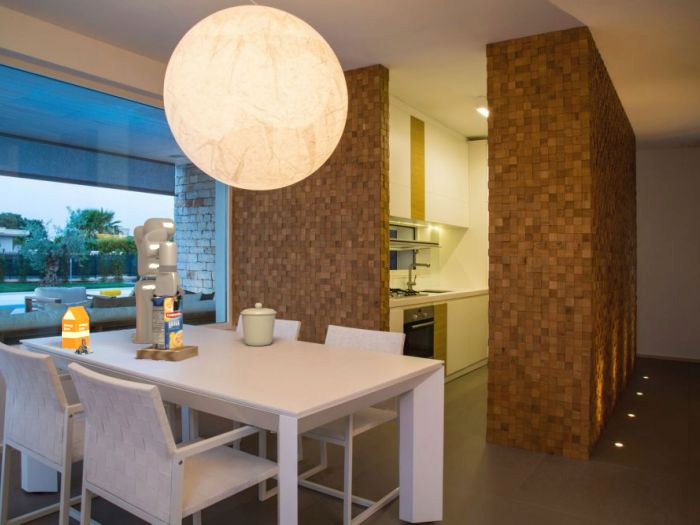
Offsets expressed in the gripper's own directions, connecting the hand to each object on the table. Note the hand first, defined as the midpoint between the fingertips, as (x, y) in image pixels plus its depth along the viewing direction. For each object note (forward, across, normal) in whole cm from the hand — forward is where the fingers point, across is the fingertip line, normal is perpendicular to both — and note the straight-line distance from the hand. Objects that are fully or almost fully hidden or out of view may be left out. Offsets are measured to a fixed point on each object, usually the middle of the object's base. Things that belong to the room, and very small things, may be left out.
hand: (167, 309), depth 238 cm
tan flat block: (+21, 0, 0) cm, 21 cm away
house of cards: (+21, -41, -7) cm, 47 cm away
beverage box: (+17, 0, 0) cm, 17 cm away
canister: (+21, +23, +43) cm, 53 cm away
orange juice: (+21, -55, +7) cm, 59 cm away
